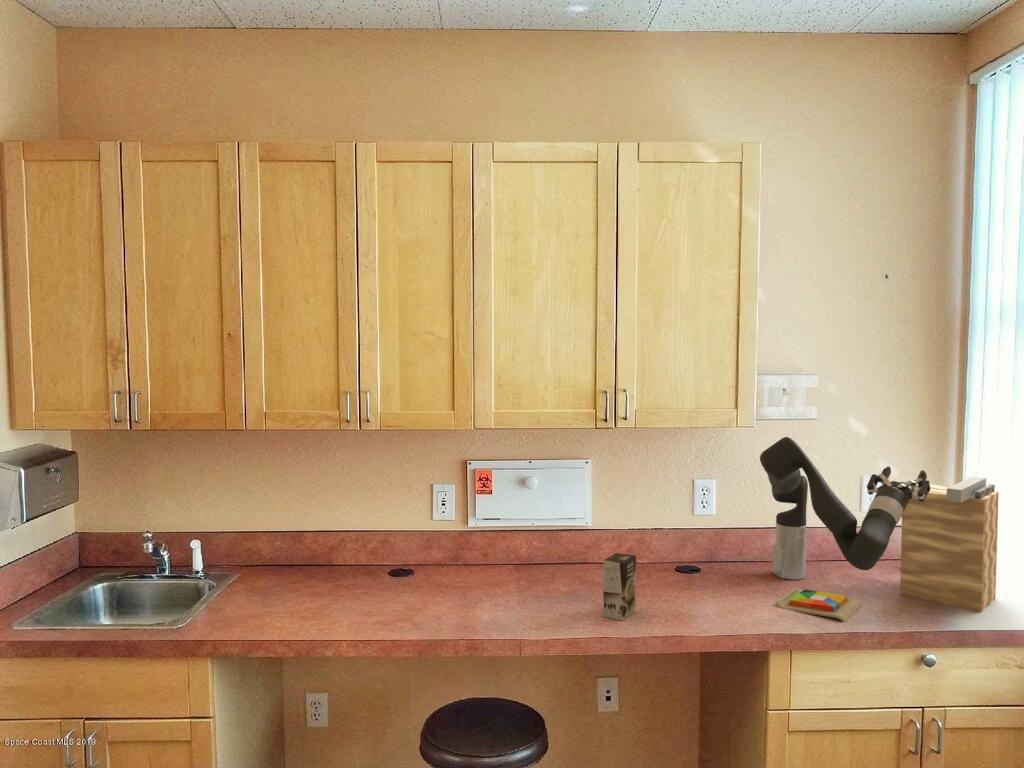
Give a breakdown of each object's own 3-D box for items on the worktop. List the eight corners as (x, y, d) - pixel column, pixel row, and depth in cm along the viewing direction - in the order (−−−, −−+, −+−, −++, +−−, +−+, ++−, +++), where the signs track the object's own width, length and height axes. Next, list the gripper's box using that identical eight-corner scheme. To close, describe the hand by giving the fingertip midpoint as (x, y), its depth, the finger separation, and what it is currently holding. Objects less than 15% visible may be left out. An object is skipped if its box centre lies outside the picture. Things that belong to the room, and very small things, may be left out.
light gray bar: (960, 502, 193) (961, 489, 193) (946, 500, 196) (946, 488, 196) (985, 489, 211) (986, 478, 211) (972, 488, 214) (972, 476, 214)
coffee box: (623, 621, 193) (624, 563, 192) (602, 616, 197) (602, 559, 196) (636, 611, 201) (636, 555, 200) (615, 606, 204) (615, 551, 204)
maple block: (981, 612, 199) (984, 492, 198) (900, 593, 214) (902, 482, 213) (995, 598, 210) (998, 485, 209) (917, 581, 226) (920, 476, 224)
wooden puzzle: (796, 592, 217) (797, 581, 217) (863, 607, 205) (863, 595, 205) (775, 608, 204) (775, 596, 204) (844, 624, 192) (845, 612, 192)
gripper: (915, 501, 177) (933, 462, 186) (855, 492, 188) (876, 457, 197) (919, 524, 180) (937, 485, 189) (860, 514, 190) (880, 478, 200)
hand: (906, 470), depth 193 cm, fingers open, 8 cm apart
